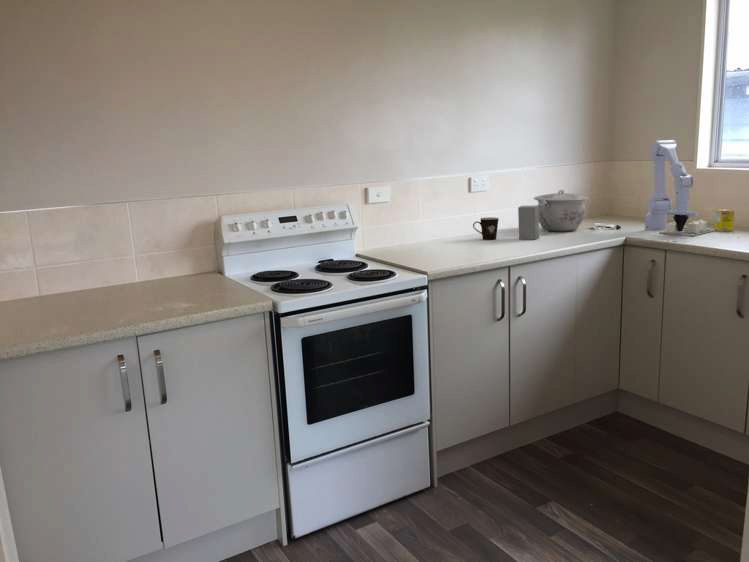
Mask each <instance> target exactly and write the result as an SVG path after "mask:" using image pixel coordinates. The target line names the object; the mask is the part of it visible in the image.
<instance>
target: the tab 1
mask: <svg viewBox="0 0 749 562" xmlns="http://www.w3.org/2000/svg"><path fill="white" fill-rule="evenodd" d="M665 231H666V232H671V233H679V231H678V230H677V225H676V222H675V221H671V222H669V223H667V225H666V229H665ZM679 234H680V233H679Z"/></svg>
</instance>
